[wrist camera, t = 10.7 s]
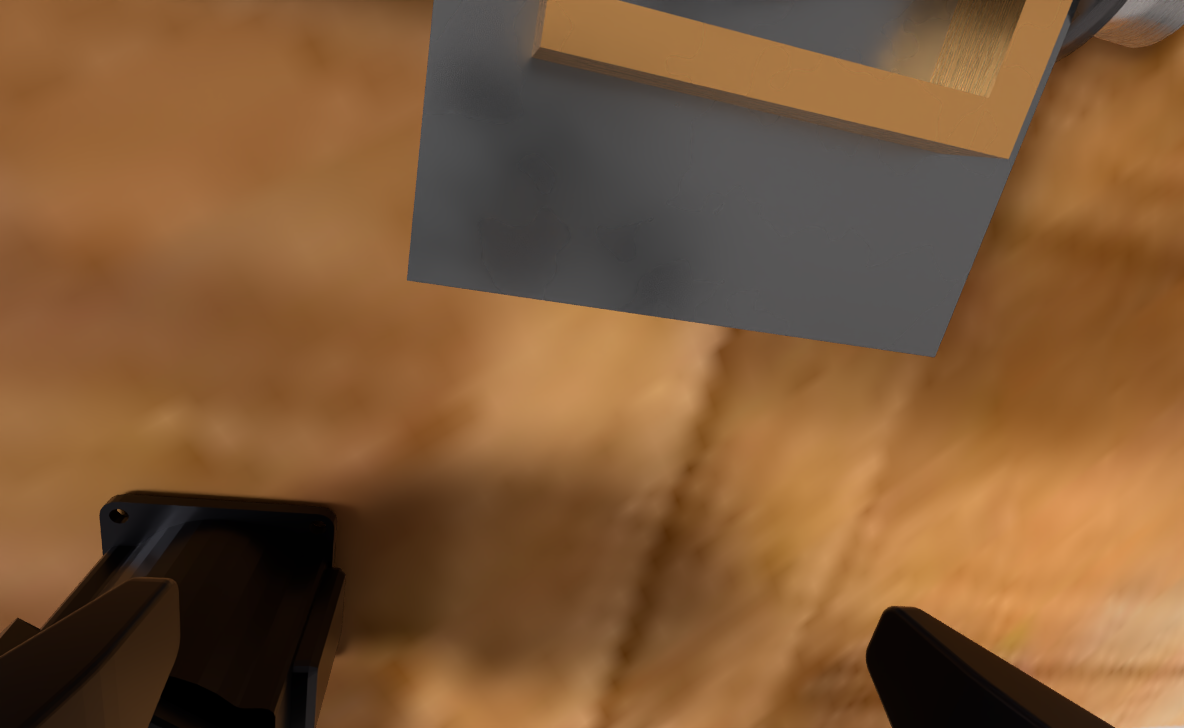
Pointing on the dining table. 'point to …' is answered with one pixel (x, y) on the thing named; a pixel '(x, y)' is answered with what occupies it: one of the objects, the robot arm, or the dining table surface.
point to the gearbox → (737, 152)
